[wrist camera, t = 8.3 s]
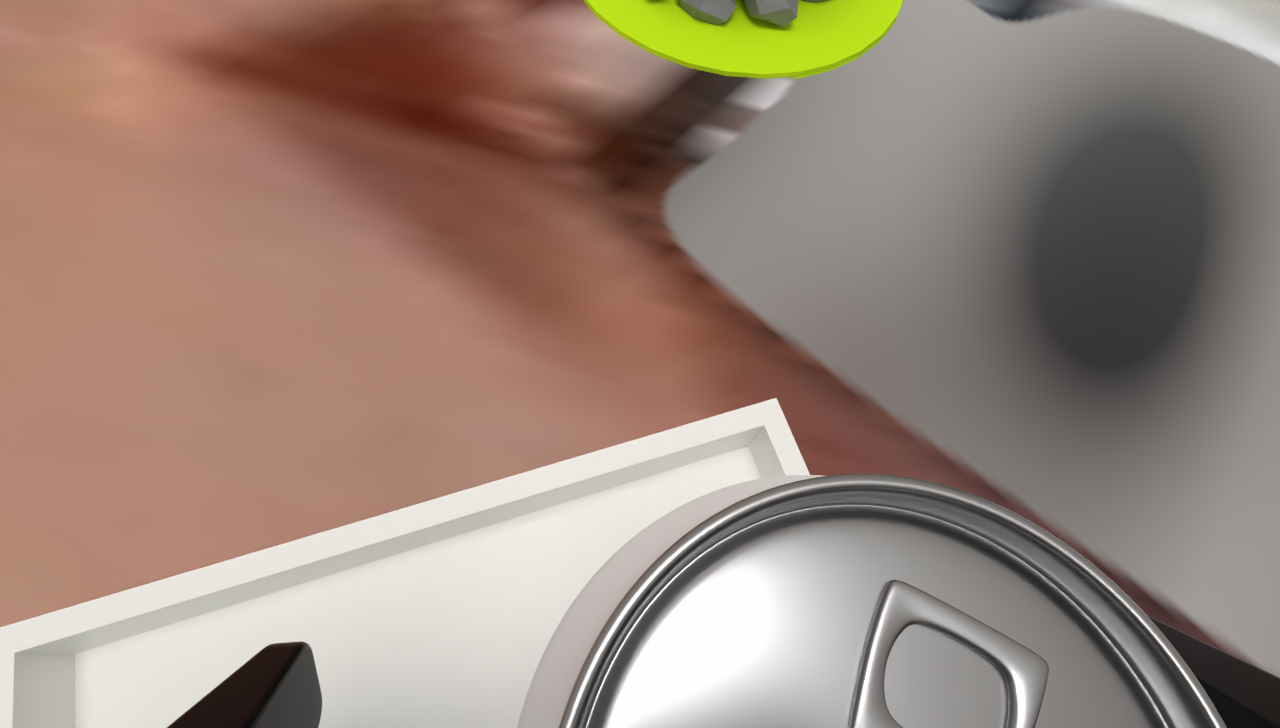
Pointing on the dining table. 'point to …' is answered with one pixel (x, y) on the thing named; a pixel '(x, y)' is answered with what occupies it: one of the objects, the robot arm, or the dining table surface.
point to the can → (856, 621)
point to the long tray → (386, 595)
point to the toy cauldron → (752, 32)
